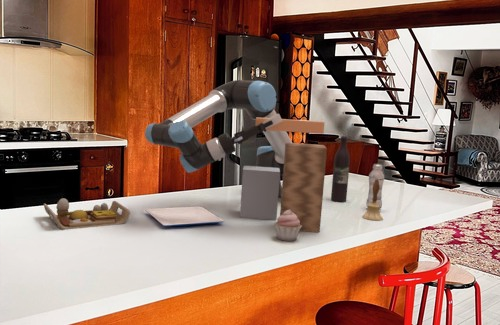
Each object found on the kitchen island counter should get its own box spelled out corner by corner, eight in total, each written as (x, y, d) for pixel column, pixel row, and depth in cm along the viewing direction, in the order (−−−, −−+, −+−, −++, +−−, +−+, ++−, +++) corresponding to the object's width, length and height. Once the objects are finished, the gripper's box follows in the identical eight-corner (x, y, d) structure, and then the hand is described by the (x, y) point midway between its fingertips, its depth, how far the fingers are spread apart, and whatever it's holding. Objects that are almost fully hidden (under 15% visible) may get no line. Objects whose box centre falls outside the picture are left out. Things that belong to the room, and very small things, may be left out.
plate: (163, 230, 170) (163, 224, 170) (144, 214, 190) (145, 208, 190) (224, 226, 181) (224, 220, 180) (200, 211, 200) (200, 206, 200)
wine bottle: (329, 200, 234) (334, 136, 230) (332, 198, 241) (338, 135, 237) (344, 203, 232) (350, 137, 227) (347, 200, 238) (353, 136, 234)
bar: (255, 129, 179) (256, 117, 178) (255, 128, 183) (256, 117, 182) (323, 133, 178) (324, 122, 178) (322, 132, 182) (323, 121, 182)
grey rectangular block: (239, 217, 194) (242, 169, 191) (241, 211, 204) (244, 165, 201) (276, 219, 193) (280, 172, 191) (275, 213, 203) (279, 168, 201)
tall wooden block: (280, 229, 180) (286, 145, 176) (279, 222, 190) (285, 142, 186) (319, 232, 180) (326, 148, 176) (316, 224, 190) (323, 145, 186)
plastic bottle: (381, 212, 218) (386, 166, 215) (365, 210, 219) (370, 164, 217) (381, 208, 224) (385, 164, 222) (365, 207, 226) (369, 162, 223)
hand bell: (383, 217, 209) (387, 179, 207) (382, 221, 201) (386, 182, 199) (363, 214, 212) (367, 176, 209) (360, 218, 204) (364, 179, 202)
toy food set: (54, 231, 162) (54, 208, 161) (42, 218, 177) (42, 196, 176) (131, 224, 176) (131, 203, 175) (114, 212, 191) (114, 192, 190)
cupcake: (293, 244, 163) (295, 214, 162) (267, 238, 168) (270, 209, 167) (305, 238, 171) (308, 209, 170) (281, 232, 176) (283, 204, 175)
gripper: (228, 152, 191) (284, 125, 189) (224, 158, 174) (286, 128, 172) (219, 134, 190) (275, 106, 188) (214, 139, 173) (276, 108, 171)
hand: (280, 117), depth 180 cm, fingers closed on bar, 4 cm apart
